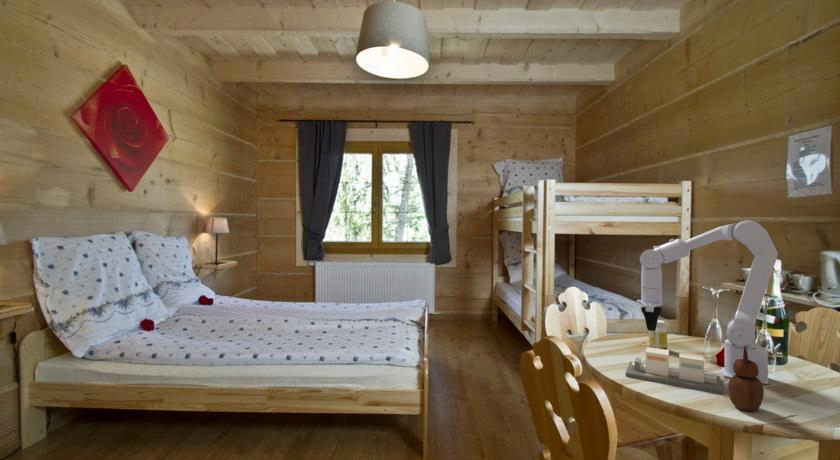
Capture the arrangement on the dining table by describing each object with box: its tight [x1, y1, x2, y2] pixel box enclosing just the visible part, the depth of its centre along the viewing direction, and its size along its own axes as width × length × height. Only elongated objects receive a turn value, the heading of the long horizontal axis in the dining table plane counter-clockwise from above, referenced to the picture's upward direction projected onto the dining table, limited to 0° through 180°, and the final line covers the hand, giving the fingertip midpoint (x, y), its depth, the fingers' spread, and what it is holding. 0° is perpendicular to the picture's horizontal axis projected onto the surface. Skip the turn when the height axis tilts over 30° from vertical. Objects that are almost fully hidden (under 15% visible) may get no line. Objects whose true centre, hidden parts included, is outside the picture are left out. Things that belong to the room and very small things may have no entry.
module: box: [645, 346, 670, 377], centre depth 114 cm, size 6×5×6 cm
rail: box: [625, 351, 723, 395], centre depth 112 cm, size 22×11×7 cm, turn 56°
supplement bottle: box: [648, 319, 668, 350], centre depth 137 cm, size 5×5×10 cm
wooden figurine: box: [727, 346, 765, 412], centre depth 93 cm, size 7×6×15 cm
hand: (651, 330), depth 127 cm, fingers closed
